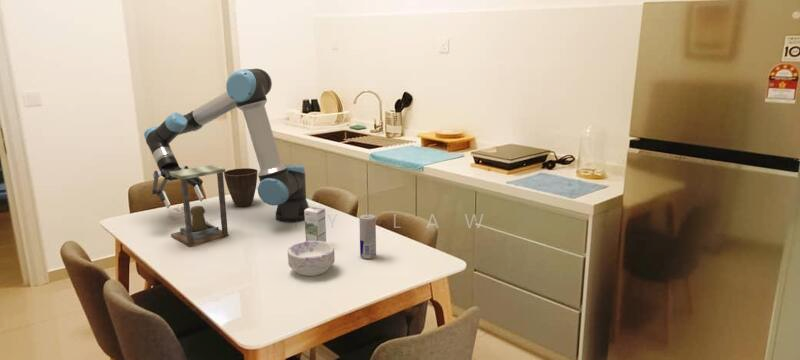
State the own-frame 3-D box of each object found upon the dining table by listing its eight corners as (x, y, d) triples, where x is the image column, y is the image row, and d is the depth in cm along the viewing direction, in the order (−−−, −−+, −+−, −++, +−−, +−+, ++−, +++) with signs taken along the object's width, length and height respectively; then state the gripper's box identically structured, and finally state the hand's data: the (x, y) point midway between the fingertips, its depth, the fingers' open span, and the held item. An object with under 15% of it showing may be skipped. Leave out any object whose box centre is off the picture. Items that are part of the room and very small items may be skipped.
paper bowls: (314, 284, 173) (313, 260, 171) (279, 273, 181) (277, 251, 179) (344, 267, 186) (343, 245, 184) (309, 258, 194) (308, 237, 192)
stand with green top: (210, 226, 227) (205, 162, 220) (230, 236, 216) (225, 168, 209) (169, 237, 215) (162, 169, 209) (188, 247, 204) (181, 176, 197)
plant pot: (220, 208, 251) (217, 174, 247) (235, 199, 266) (232, 167, 262) (251, 210, 249) (249, 176, 245) (264, 201, 263) (262, 168, 259)
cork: (204, 236, 212) (202, 209, 210) (189, 236, 213) (186, 209, 210) (210, 231, 218) (207, 204, 216) (195, 231, 218) (192, 204, 216)
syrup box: (327, 244, 207) (325, 207, 204) (318, 249, 202) (316, 211, 198) (314, 241, 210) (312, 205, 206) (305, 247, 204) (303, 209, 201)
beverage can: (378, 254, 197) (377, 214, 193) (372, 260, 192) (371, 219, 188) (363, 252, 199) (363, 213, 195) (357, 258, 193) (356, 217, 190)
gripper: (192, 161, 237) (212, 201, 231) (132, 170, 220) (152, 214, 214) (197, 150, 232) (217, 191, 226) (136, 159, 215) (156, 204, 209)
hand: (185, 203), depth 220 cm, fingers open, 13 cm apart
